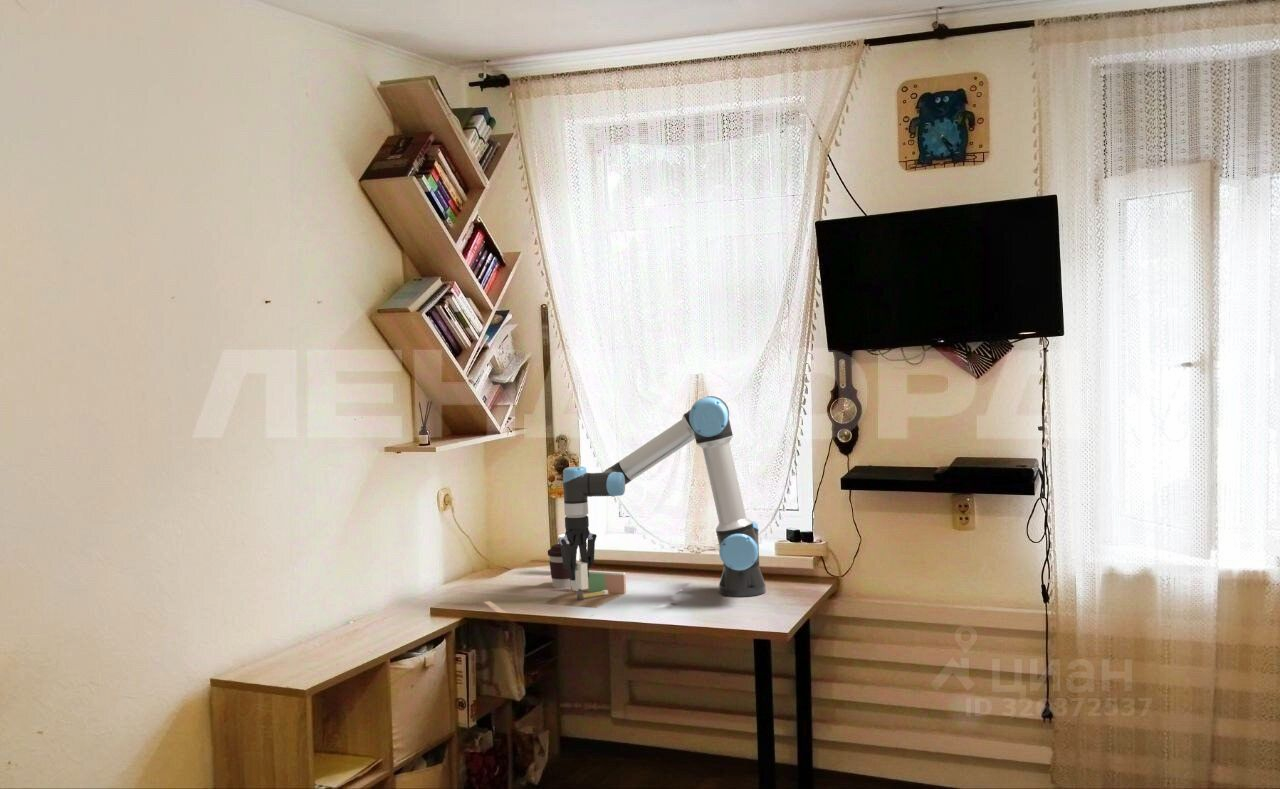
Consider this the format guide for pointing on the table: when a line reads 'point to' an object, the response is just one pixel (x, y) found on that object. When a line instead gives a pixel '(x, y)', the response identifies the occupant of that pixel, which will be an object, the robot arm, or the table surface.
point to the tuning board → (571, 600)
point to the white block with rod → (584, 581)
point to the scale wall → (606, 582)
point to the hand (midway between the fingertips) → (579, 589)
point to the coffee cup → (558, 568)
